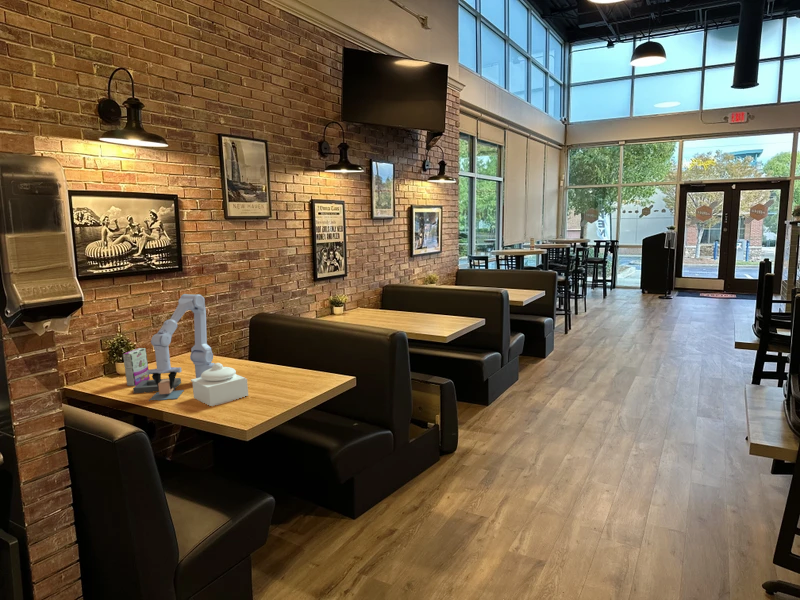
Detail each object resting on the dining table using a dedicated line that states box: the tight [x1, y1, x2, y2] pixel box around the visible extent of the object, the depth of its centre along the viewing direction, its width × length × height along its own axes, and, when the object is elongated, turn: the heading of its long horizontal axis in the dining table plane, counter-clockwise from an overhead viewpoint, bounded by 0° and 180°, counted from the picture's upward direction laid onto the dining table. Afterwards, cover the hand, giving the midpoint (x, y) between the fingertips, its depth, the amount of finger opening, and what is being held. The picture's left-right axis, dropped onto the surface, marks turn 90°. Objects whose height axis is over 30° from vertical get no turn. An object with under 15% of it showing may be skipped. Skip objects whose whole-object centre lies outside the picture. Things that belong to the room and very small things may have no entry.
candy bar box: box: [122, 347, 151, 387], centre depth 263 cm, size 11×5×16 cm, turn 168°
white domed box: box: [190, 362, 249, 407], centre depth 236 cm, size 18×18×16 cm
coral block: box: [158, 378, 175, 394], centre depth 241 cm, size 4×6×5 cm
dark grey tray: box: [132, 377, 182, 394], centre depth 254 cm, size 18×12×2 cm
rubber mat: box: [148, 389, 185, 402], centre depth 242 cm, size 12×12×1 cm
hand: (166, 388), depth 241 cm, fingers closed on coral block, 4 cm apart
